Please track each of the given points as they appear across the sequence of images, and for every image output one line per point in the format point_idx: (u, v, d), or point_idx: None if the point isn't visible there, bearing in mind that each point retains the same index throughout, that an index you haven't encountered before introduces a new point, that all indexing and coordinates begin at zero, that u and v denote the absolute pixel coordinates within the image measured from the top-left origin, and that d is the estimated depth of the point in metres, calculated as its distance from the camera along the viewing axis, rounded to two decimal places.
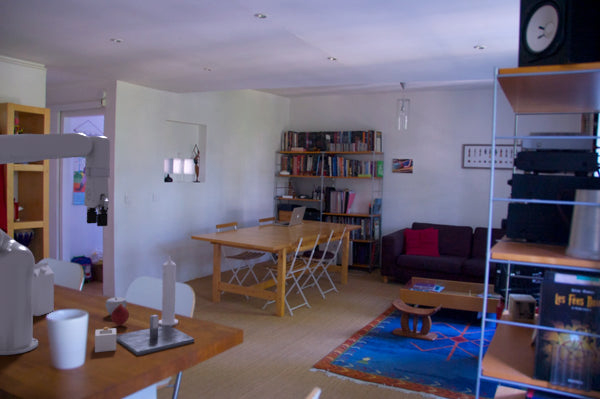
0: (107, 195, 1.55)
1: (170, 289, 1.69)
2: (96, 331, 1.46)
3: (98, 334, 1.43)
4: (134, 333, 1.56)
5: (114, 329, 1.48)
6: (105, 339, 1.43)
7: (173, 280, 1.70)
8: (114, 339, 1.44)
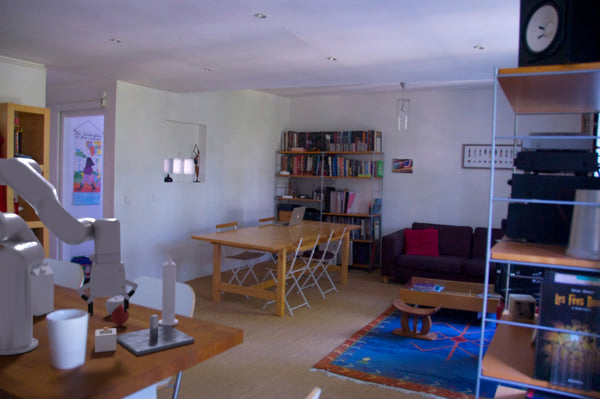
0: None
1: (170, 289, 1.69)
2: (96, 331, 1.46)
3: (98, 334, 1.43)
4: (134, 333, 1.56)
5: (114, 329, 1.48)
6: (105, 339, 1.43)
7: (173, 280, 1.70)
8: (114, 339, 1.44)
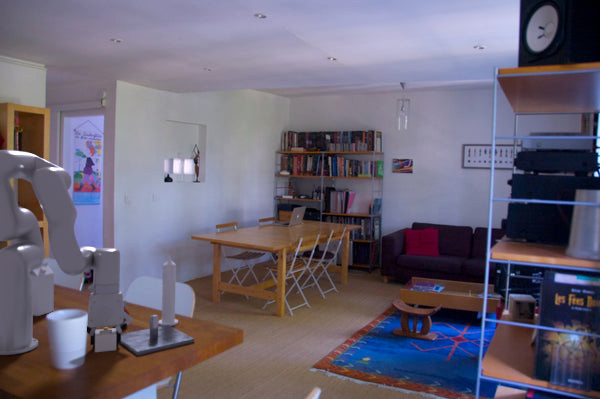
0: None
1: (170, 289, 1.69)
2: (96, 331, 1.46)
3: (98, 334, 1.43)
4: (134, 333, 1.56)
5: (114, 329, 1.48)
6: (105, 339, 1.43)
7: (173, 280, 1.70)
8: (114, 339, 1.44)
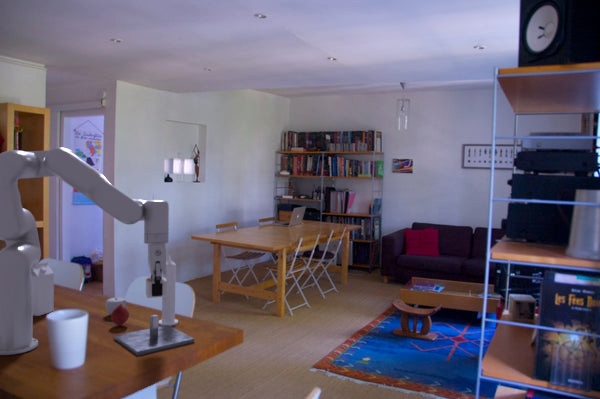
0: None
1: (170, 289, 1.69)
2: None
3: (162, 280, 1.51)
4: (134, 333, 1.56)
5: None
6: None
7: (173, 280, 1.70)
8: None
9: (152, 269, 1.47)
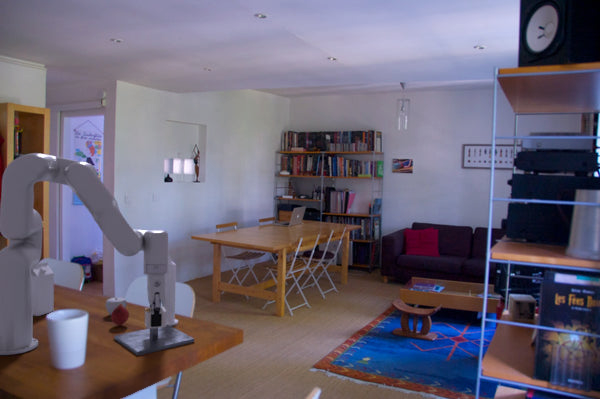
0: None
1: (170, 289, 1.69)
2: None
3: (161, 311, 1.52)
4: (134, 333, 1.56)
5: (149, 308, 1.55)
6: None
7: (173, 280, 1.70)
8: None
9: (151, 300, 1.48)
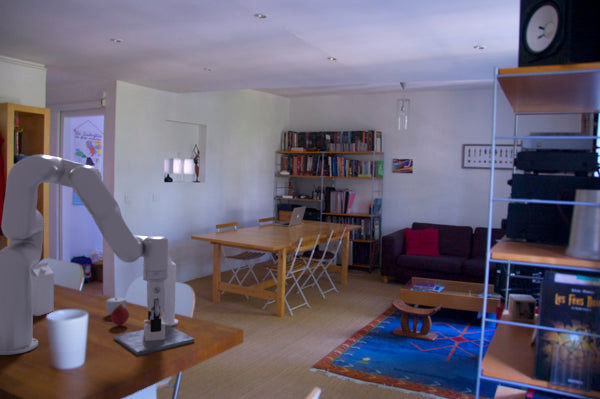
0: None
1: (170, 289, 1.69)
2: None
3: None
4: (134, 333, 1.56)
5: (148, 320, 1.55)
6: None
7: (173, 280, 1.70)
8: None
9: (151, 304, 1.48)
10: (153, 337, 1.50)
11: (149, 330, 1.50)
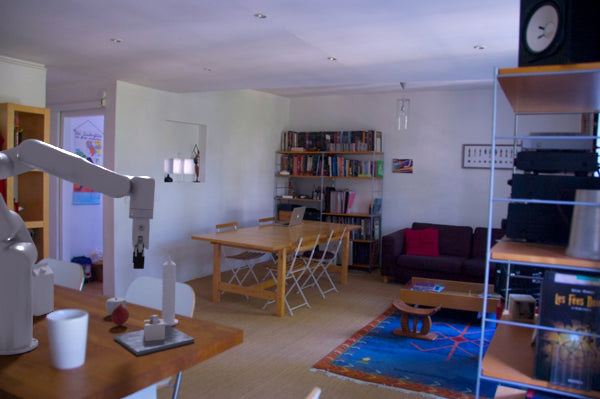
0: None
1: (170, 289, 1.69)
2: (151, 324, 1.50)
3: (160, 323, 1.52)
4: (134, 333, 1.56)
5: (148, 320, 1.55)
6: None
7: (173, 280, 1.70)
8: None
9: (135, 240, 1.49)
10: (153, 337, 1.50)
11: (149, 330, 1.50)
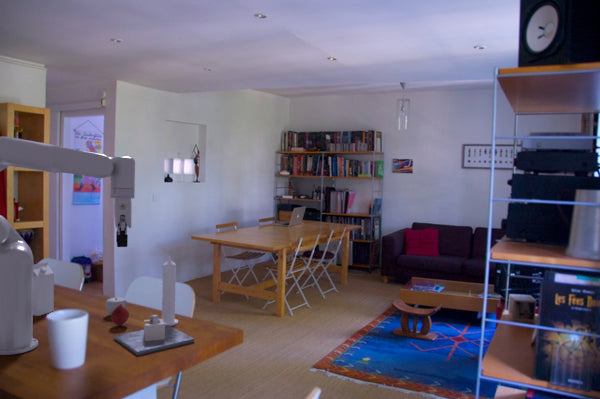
0: None
1: (170, 289, 1.69)
2: (151, 324, 1.50)
3: (160, 323, 1.52)
4: (134, 333, 1.56)
5: (148, 320, 1.55)
6: None
7: (173, 280, 1.70)
8: None
9: (117, 219, 1.52)
10: (153, 337, 1.50)
11: (149, 330, 1.50)
